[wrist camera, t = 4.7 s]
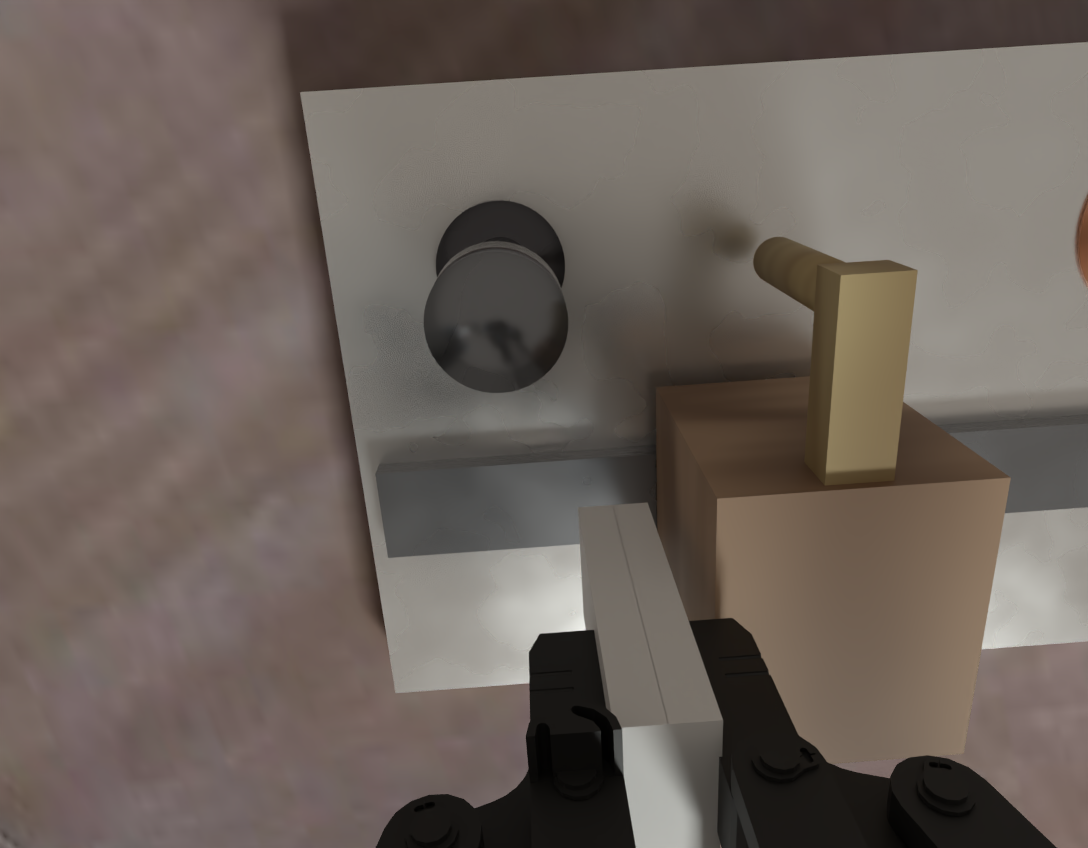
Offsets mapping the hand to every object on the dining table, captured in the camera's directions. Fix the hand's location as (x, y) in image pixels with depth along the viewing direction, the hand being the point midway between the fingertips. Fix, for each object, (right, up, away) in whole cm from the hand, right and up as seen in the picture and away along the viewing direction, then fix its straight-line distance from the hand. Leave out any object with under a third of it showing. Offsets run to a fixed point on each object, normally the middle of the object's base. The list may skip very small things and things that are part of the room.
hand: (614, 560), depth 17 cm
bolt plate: (+7, +4, +4) cm, 9 cm away
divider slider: (+4, +3, +2) cm, 5 cm away
